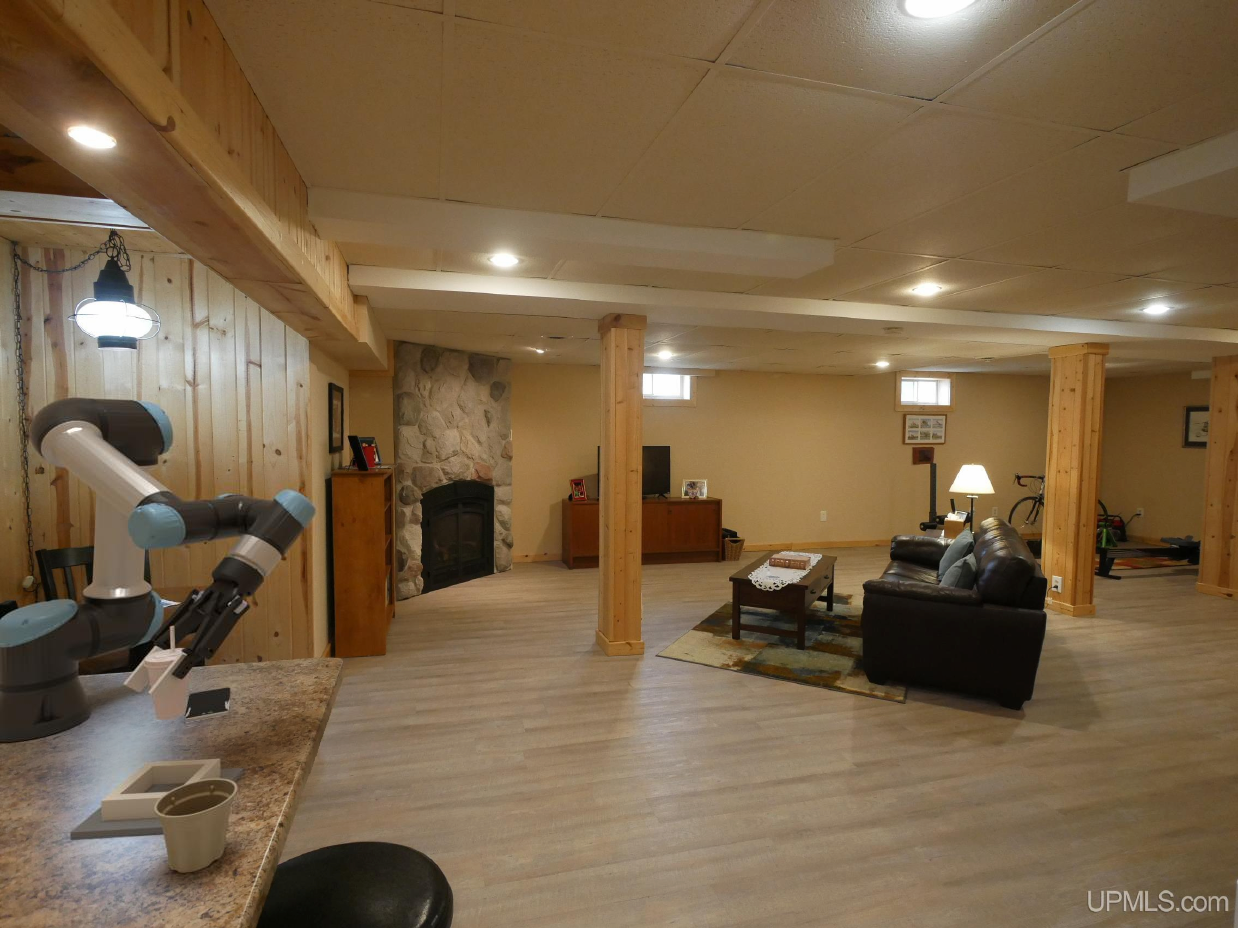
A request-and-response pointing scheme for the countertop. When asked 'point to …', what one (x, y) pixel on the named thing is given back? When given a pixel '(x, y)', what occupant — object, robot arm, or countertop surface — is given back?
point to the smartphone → (207, 704)
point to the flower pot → (196, 822)
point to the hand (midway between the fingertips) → (144, 692)
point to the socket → (147, 797)
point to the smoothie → (156, 668)
